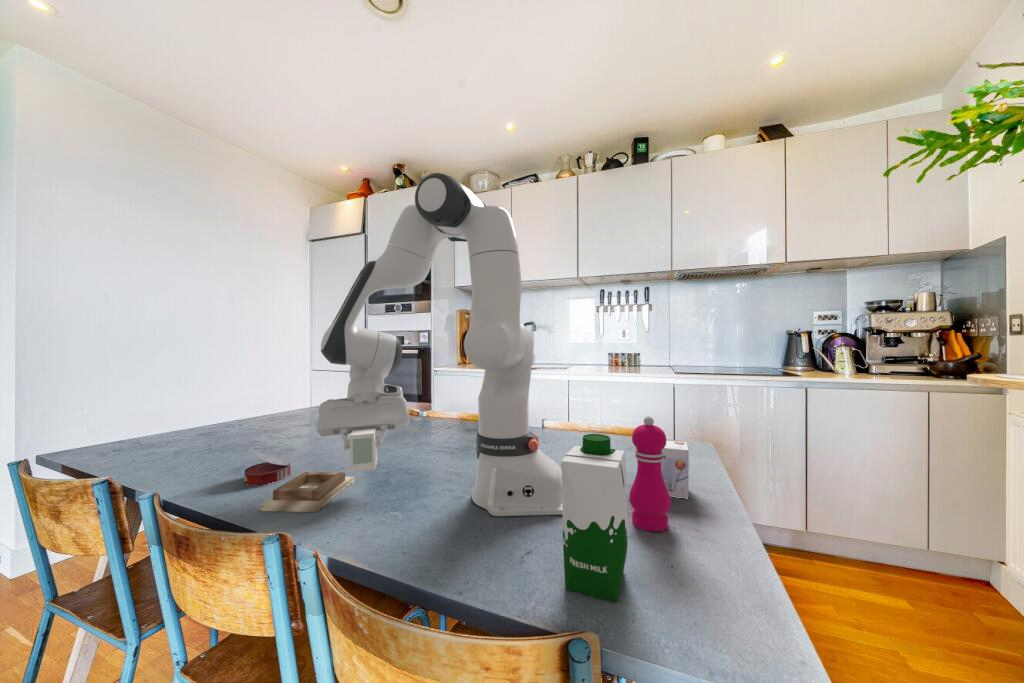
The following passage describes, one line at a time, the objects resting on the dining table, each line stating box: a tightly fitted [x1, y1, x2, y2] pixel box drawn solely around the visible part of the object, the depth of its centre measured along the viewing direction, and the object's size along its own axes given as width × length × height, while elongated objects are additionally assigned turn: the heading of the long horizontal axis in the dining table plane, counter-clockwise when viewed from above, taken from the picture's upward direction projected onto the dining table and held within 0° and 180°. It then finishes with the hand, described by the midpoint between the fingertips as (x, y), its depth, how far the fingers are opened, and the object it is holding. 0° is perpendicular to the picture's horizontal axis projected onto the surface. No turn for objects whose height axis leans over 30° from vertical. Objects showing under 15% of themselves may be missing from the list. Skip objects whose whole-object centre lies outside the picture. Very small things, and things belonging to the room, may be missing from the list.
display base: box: [259, 471, 355, 513], centre depth 83 cm, size 12×16×3 cm
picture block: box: [349, 427, 378, 473], centre depth 83 cm, size 5×6×8 cm
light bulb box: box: [661, 440, 690, 498], centre depth 83 cm, size 11×7×11 cm, turn 68°
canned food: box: [243, 446, 291, 486], centre depth 94 cm, size 11×10×10 cm
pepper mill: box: [628, 416, 672, 532], centre depth 69 cm, size 7×7×20 cm
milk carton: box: [561, 433, 628, 604], centre depth 53 cm, size 9×9×20 cm
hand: (363, 446), depth 83 cm, fingers closed on picture block, 5 cm apart
